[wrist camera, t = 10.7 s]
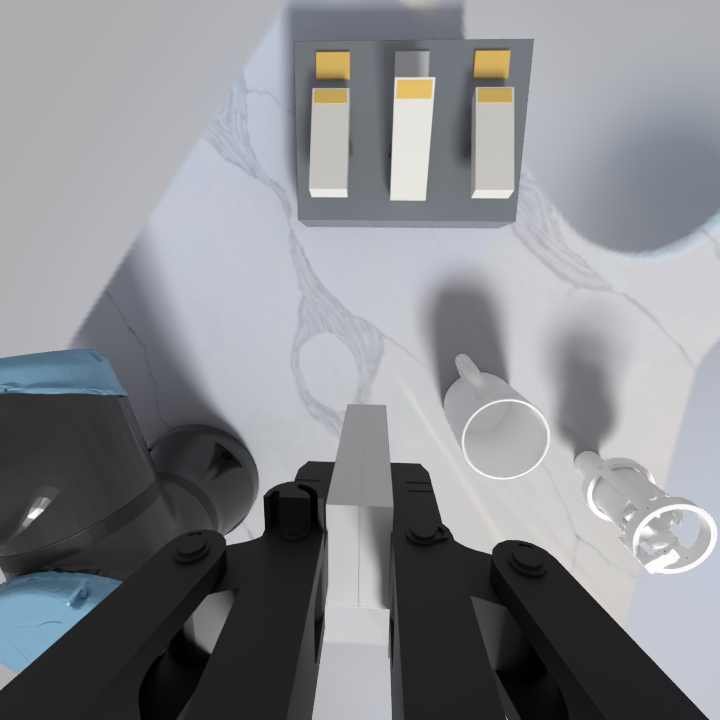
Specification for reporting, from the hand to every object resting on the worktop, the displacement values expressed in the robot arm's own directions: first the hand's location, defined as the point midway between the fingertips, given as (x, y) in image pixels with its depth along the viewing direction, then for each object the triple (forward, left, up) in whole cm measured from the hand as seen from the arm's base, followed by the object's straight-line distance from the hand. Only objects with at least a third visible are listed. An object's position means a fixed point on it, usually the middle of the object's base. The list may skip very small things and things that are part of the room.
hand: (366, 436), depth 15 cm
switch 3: (+10, +18, -22) cm, 30 cm away
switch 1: (-4, +18, -22) cm, 28 cm away
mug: (+12, -7, -30) cm, 33 cm away
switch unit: (+3, +19, -29) cm, 35 cm away
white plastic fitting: (+27, -16, -30) cm, 43 cm away
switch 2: (+3, +18, -22) cm, 28 cm away
